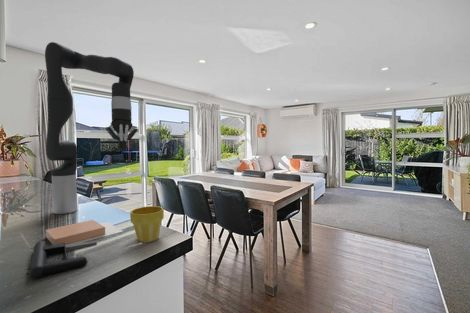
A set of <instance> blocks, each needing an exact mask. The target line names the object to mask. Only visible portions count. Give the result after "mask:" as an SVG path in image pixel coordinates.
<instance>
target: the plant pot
mask: <svg viewBox="0 0 470 313" xmlns="http://www.w3.org/2000/svg"><path fill="white" fill-rule="evenodd" d="M129 214H130V217H129V218H130V222H131V224H132V225H133V228H134V232H135V235H136V240H137V241H138V242H139V241H140V242H141V243H151V242H152V243H153V242H154V241H157V240H158V239H160V238H159V237H160V231H161V226H162V221H163V220H164V216H165V215H164V208H163V206H158V205H149V206H141V207H136V208H134V209H131V210H130V213H129Z"/></svg>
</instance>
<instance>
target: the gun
mask: <svg viewBox="0 0 470 313" xmlns="http://www.w3.org/2000/svg"><path fill="white" fill-rule="evenodd" d="M97 244H98V243H97V240H89V241H86V242H82V243H78V244H72V245H66V246H65V243H61V244H55V245H52V244H49V245H48V244H47V243H46V241H44V240H39V241H38V242H36V243H35V245H34V247H31V248H30V249H33V252H32V258H31V263H30V268H27V269H25V271H27V270H29V272H27V273H26V275H29V277H30V278H31V279H34V280H35V279H37V280H38V279H40V278H43V276H48V275H53V274H56V273H61V272H66V271H71V270H74V269H75V270H76V269H79V268H82V267H85V266H86V265H87V263H88V260H87V258H86V257H85V256H84V255H83V256H77V257H72V258H68V256H67V252H68V251H73V250H78V249H83V248H87V247H91V246H95V245H97ZM63 253H64V259H62V260H61V259H60V260H59V259H57V260H55V261H51V262H47V257H49V256H54V255H55V256H56V255H58V254H59V255H60V254H63Z"/></svg>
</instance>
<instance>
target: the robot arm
mask: <svg viewBox="0 0 470 313" xmlns="http://www.w3.org/2000/svg"><path fill="white" fill-rule="evenodd" d="M44 59H45V60H44V61H45V70H46V78H47V99H46V100H47V131H46V132H47V133H46V141H45V154H46V158H47V159H48V160H49V161H52V162H56V161H63V163H61V164H60V165H59V166H57V167H55V168H52V169H51V189H52V190H51V192H52V193H51V194H52V195H51V196H52V213H53V214H54V215H63V214H70V213H74V212H77V211H78V193H77V169H78V147H77V143H76V142H75V141H74V140H66V139H65V140H63V139H62V140H60V136H61V132H62V129H63V128H64V126H65V125H66V123H67V122H68V121H69V119H70V118H71V116H72V115H73V110H74V108H73V107H74V101H73V100H74V99H73V95H72V92H71V91H70V89H69V87H68V86H67V84H66V83H67V82H66V81H65V79H64V76H63V69H68V70H70V69H71V70H86V71H90V72H93V73H97V74H101V75H109V76H110V75H111V76H113V77H115V78H116V77H117V78H118V82H114V83H112V84H111V103H110V104H111V108H110V109H111V122H110V125H109V126H106V127H105V131H107V132H106V133H108V134H109V136H110V137H111V138H112V139H113V140H115V141H117V144H118V150H120V151H126V149H127V147H128V146H127V145H128V144H127V142H128V141H129V140H130V141H131V140H132V138H133V137H134V136H135V135H136V133H137V132H138V128H136V127H134V126H133V125H134V124H133V123H132V100H131V87H132V85H133V84H132V83H133V80H134V74H135V73H134V72H135V71H134V68H133V66H132V65H131V64H130V63H129V62H127V61H124V60H122V59H120V58H117V57H114V56H102V55H96V54H83V53H80V52H77V51H75V50H74V49H72V48H70V47H68V46H65V45H62V44H60V43H58V42H54V41H51V42H49V43H47V44H46V46H45V51H44ZM62 68H63V69H62ZM114 131H115V132H114Z"/></svg>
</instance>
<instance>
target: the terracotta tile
mask: <svg viewBox="0 0 470 313" xmlns="http://www.w3.org/2000/svg"><path fill="white" fill-rule="evenodd" d="M103 234H105V227H104V226H102V225H101V224H100V223H99V222H97V221H95V220H94V219H90V220H85V221H80V222H76V223H72V224H67V225H61V226H58V227H57V226H56V227H53V228H52V227H51V228H48V229H45V238H46V239H47V240H48V241H49V242H50V243H51V245H55V244H61V243H65V245H66V244H70V243H73V242H77V241H81V240H85V239H88V238H92V237H96V236H100V235H103Z"/></svg>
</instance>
